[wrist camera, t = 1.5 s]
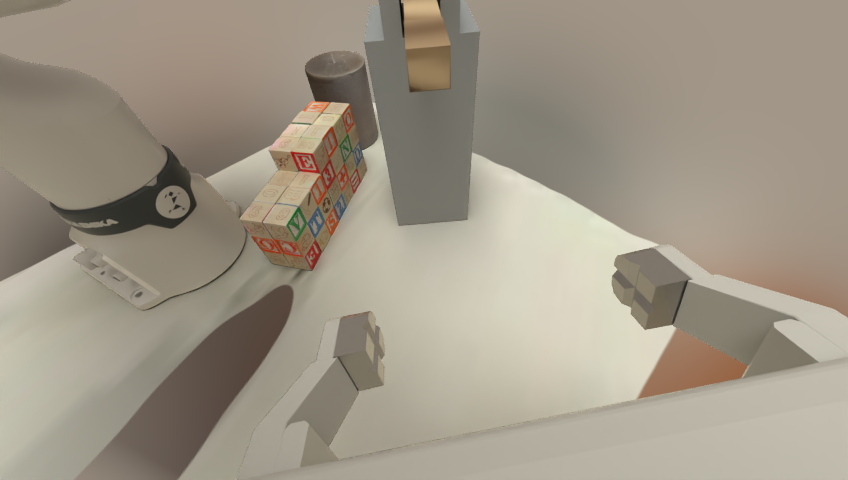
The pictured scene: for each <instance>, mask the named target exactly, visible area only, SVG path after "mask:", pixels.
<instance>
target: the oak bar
mask: <svg viewBox="0 0 848 480" xmlns="http://www.w3.org/2000/svg"><path fill="white" fill-rule="evenodd" d="M403 4H404V20H405V21H404V34H405V51H406V61H407V71H408V81H409V91H410V93H411V92H422V91H433V90H445V89H451V44H450V41H449V37H448V34H447V31H446V27H445V24H444V20H443V17H441V13H440V10H439V6H438V3H437V0H403Z"/></svg>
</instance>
